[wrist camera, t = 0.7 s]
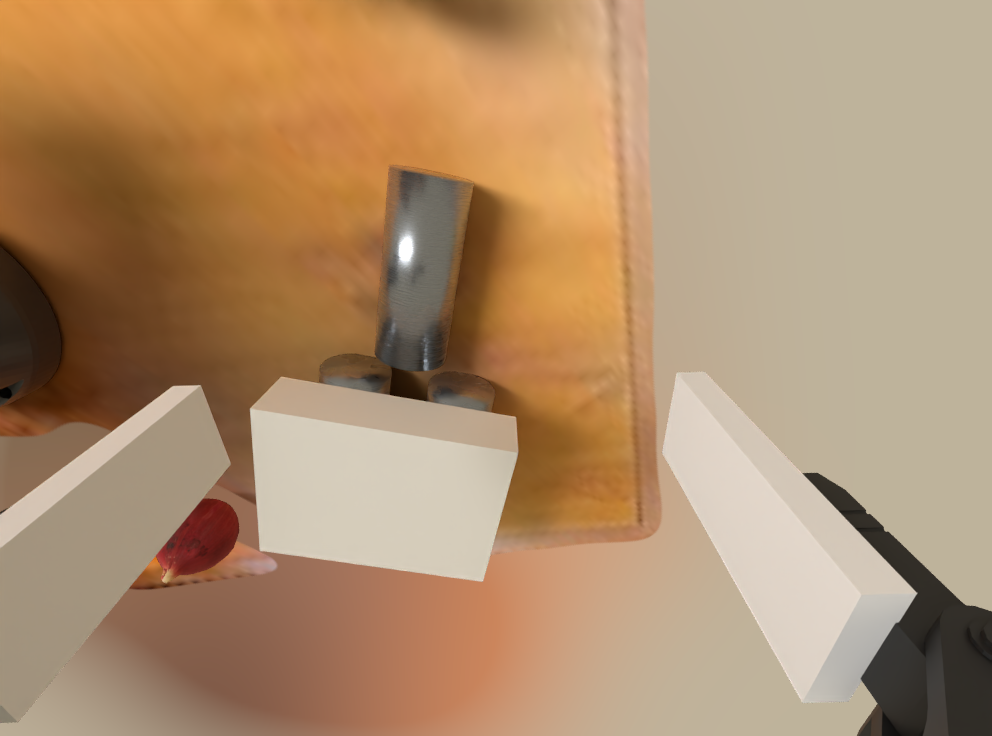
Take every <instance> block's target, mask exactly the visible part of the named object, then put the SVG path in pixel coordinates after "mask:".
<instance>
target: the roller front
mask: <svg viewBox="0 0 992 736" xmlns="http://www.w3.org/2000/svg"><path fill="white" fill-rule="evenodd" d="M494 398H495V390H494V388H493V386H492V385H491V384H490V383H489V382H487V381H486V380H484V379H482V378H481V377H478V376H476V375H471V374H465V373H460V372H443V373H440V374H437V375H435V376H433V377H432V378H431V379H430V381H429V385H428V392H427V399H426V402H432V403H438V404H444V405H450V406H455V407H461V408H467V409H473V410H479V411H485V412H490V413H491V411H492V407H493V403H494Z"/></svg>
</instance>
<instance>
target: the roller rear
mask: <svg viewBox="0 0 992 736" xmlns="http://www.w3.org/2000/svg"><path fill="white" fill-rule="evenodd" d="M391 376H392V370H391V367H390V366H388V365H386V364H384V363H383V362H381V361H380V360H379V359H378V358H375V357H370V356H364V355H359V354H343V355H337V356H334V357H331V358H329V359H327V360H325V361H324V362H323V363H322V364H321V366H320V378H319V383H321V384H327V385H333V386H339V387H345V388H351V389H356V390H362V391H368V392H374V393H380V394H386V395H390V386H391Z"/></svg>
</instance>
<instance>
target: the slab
mask: <svg viewBox="0 0 992 736" xmlns="http://www.w3.org/2000/svg"><path fill="white" fill-rule="evenodd" d="M250 417H251V431H252V445H253V460H254V474H255V489H256V503H257V516H258V531H259V546H260V551H266V552H273V553H280V554H288V555H295V556H302V557H309V558H316V559H323V560H331V561H338V562H345V563H352V564H359V565H366V566H374V567H381V568H388V569H395V570H402V571H409V572H417V573H424V574H431V575H439V576H445V577H452V578H460V579H467V580H474V581H482V582H483V580H484V576H485V572H486V569H487V565H488V562H489V558H490V554H491V551H492V547H493V543H494V540H495V536H496V532H497V529H498V525H499V522H500V518H501V514H502V511H503V507H504V503H505V500H506V496H507V492H508V489H509V485H510V482H511V478H512V474H513V471H514V467H515V463H516V460H517V456H518V439H517V423H516V417H514V416H508V415H502V414H496V413H490V412H485V411H479V410H473V409H467V408H461V407H455V406H450V405H444V404H438V403H432V402H426V401H420V400H415V399H409V398H403V397H397V396H391V395H386V394H380V393H374V392H368V391H362V390H356V389H351V388H345V387H339V386H333V385H327V384H321V383H316V382H310V381H304V380H298V379H292V378H286V377H280V378H279V379H278V380H277V381H276V382H275V383H274V384H273V385H272V386H271V387H270V388H269V390H268V391H267V392H266V393H265V394H264V395H263V396H262V397H261V398H260V399H259V400H258V401H257V402H256V403H255V404H254V405H253V406H252V407H251V408H250Z"/></svg>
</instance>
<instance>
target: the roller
mask: <svg viewBox="0 0 992 736" xmlns="http://www.w3.org/2000/svg"><path fill="white" fill-rule="evenodd" d="M473 185H474V182H472V181H470V180H467V179H464V178H460V177H456V176H453V175H448V174H444V173H439V172H434V171H430V170H425V169H420V168H414V167H408V166H400V165H389V172H388V185H387V198H386V211H385V224H384V237H383V249H382V262H381V275H380V288H379V301H378V314H377V327H376V339H375V355H376V357H377V358H378V359H379V360H380V361H381V362H383V363H384V364H386V365H388V366H391V367H394V368H397V369H401V370H407V371H428V370H433V369H436V368H438V367H440V366H442V365H443V364H444V362H445V359H446V353H447V347H448V341H449V335H450V328H451V322H452V316H453V310H454V303H455V297H456V291H457V285H458V279H459V272H460V266H461V260H462V254H463V247H464V241H465V235H466V229H467V223H468V216H469V210H470V204H471V198H472V191H473Z"/></svg>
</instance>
